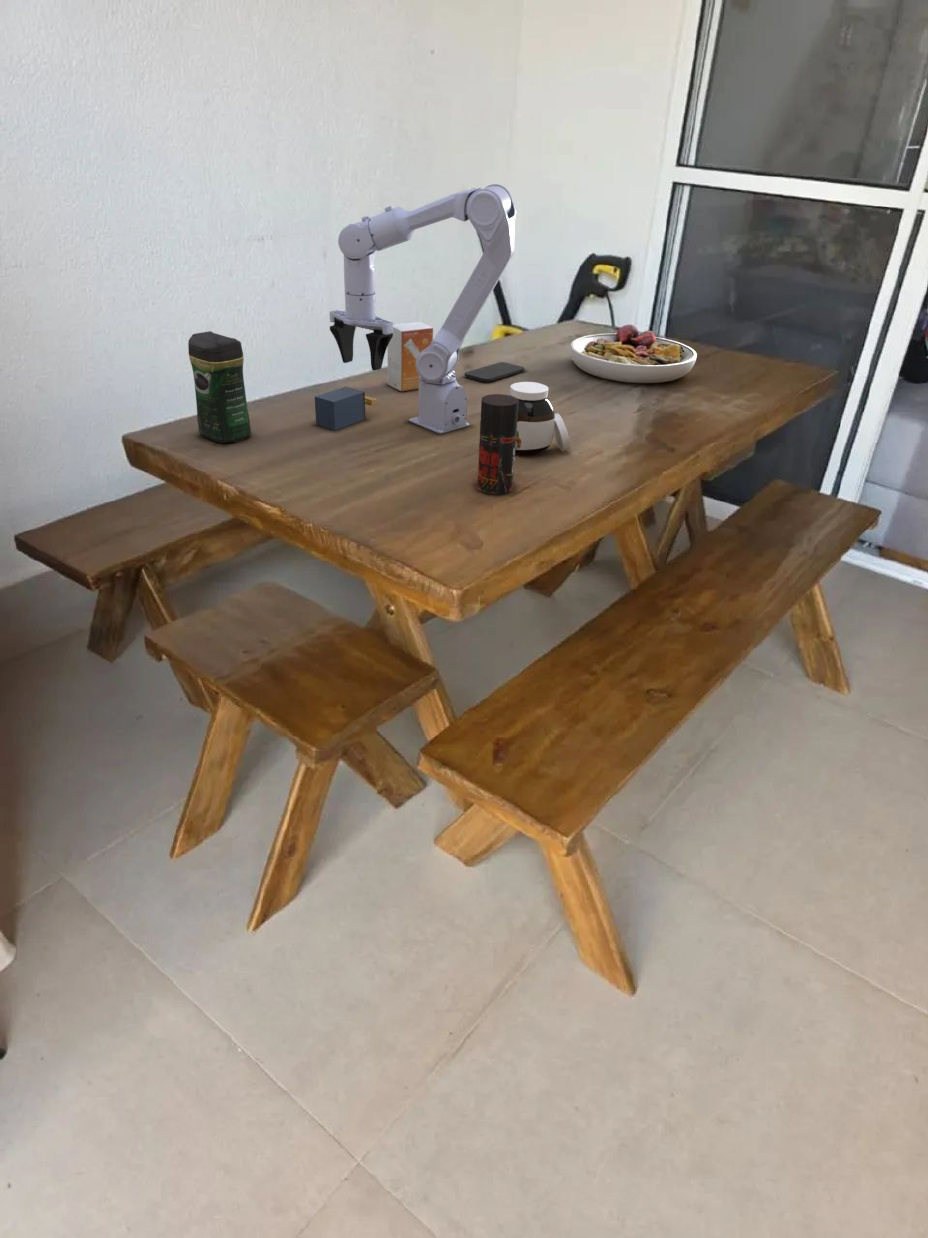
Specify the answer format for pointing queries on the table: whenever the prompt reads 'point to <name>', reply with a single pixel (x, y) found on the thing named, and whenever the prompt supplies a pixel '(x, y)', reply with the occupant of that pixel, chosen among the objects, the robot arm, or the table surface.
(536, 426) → the spread jar
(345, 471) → the table surface
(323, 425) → the box
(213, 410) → the coffee jar
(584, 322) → the table surface
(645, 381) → the bowl
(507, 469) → the deodorant
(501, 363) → the phone
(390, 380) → the small box
